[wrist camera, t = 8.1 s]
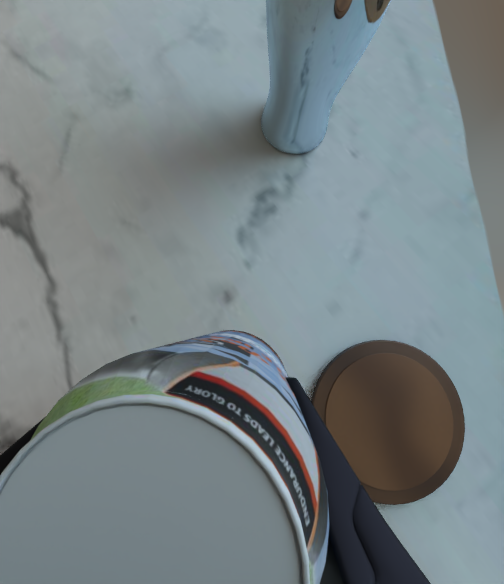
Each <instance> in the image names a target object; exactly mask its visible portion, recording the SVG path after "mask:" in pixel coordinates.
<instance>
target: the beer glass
mask: <svg viewBox="0 0 504 584" xmlns="http://www.w3.org/2000/svg"><path fill="white" fill-rule="evenodd" d="M390 3H391V0H266V27H267V43H268V56H269V71H270V88H269V94H268V98H267V101H266V104H265V106H264V109H263V112H262V117H261V127H262V131H263V134H264V136H265V138H266V139H267V141H268V142H269V143H270V144H271V145H272V146H274V147H275V148H276V149H278V150H280V151H282V152H285V153H290V154H301V153H306V152H309V151H311V150H313V149H314V148H316V147H317V146H318V145H319V144H320V143H321V141H322V140H323V138H324V137H325V134H326V131H327V126H328V120H329V115H330V110H331V107H332V105H333V102H334V100H335V98H336V96H337V94H338V93H339V91H340V90H341V88H342V86H343V85H344V83H345V82H346V80H347V79H348V77H349V75H350V74H351V72H352V71H353V69H354V68H355V66H356V64H357V63H358V61H359V60H360V58H361V57H362V55H363V53H364V52H365V50H366V48H367V47H368V45H369V43H370V41H371V40H372V38H373V36H374V34H375V33H376V31H377V29H378V27H379V25H380V23H381V21H382V19H383V17H384V15H385V13H386V11H387V9H388V7H389V5H390Z"/></svg>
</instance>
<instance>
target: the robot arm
mask: <svg viewBox="0 0 504 584" xmlns="http://www.w3.org/2000/svg"><path fill="white" fill-rule="evenodd" d="M285 378H286V380H287V382H288V384H289V386H290V388H291V390H292V391H293V393H294V395H295V397H296V400H297V403H298V405H299V408H300V410H301V413H302V415H303V418H304V420H305V423H306V425H307V428H308V430H309V433H310V436H311V438H312V441H313V444H314V446H315V449H316V451H317V454H318V457H319V459H320V462H321V467H322V471H323V475H324V480H325V484H326V489H327V493H328V510H329V536H328V545H327V554H326V563H325V566H324V570H323V574H322V577H321V581H320V584H431V583H430V582H429V581H428V579H427V578H426V577H425V575H424V574H423V572H422V571H421V570H420V568H419V567H418V566H417V564H416V563H415V562H414V560H413V559H412V558H411V556H410V555H409V553H408V552H407V551H406V549H405V548H404V547H403V545H402V544H401V542H400V541H399V540H398V538H397V537H396V535H395V534H394V533H393V531H392V530H391V528H390V527H389V526H388V524H387V523H386V521H385V520H384V518H383V517H382V515H381V514H380V512H379V511H378V509H377V507H376V506H375V504H374V503H373V501H372V500H371V498H370V496H369V495H368V493H367V492H366V490H365V488H364V487H363V485H360V484H361V482H360V480H359V479H358V477H357V476H356V474H355V472H354V471H353V469H352V467H351V466H350V464H349V463H348V461H347V459H346V458H345V456H344V454H343V453H342V451H341V450H340V448H339V446H338V445H337V443H336V441H335V440H334V438H333V437H332V435H331V433H330V432H329V430H328V428H327V427H326V425H325V424H324V422H323V420H322V419H321V417H320V416H319V414H318V412H317V411H316V409H315V407H314V406H313V404H312V403H311V401H310V399H309V398H308V396H307V394H306V393H305V391H304V390H303V388H302V386H301V385H300V383H299V381H298V380H297V379H296V378H292V377H285ZM43 420H44V419H42V420H41V421H40V422H39V423H38V424H37V425H35V426H34V427H33V428H32V429H31V430H30V431H28V432H27V433H26V434H25V435H24V436H22V437H21V438H20V439H19V440H18V441H17V442H15V443H14V444H13V445H12V446H11V447H10V448H8V449H7V450H6V451H5V452H4V453H3V454H1V455H0V475H1V473H2V472H3V471H4V469H5V468H6V467H7V466H8V464H9V463H10V462H11V461H12V459H13V458H14V457H15V456H16V454H17V453H18V452H19V451H20V449H21V448H23V447H24V446H25V445H26V444H27V443H28V442H29V441H30V440H31V438H32V436H33V435H34V433H35V431H36V429H37V428H38V426H39V425H40V423H41V422H42V421H43Z"/></svg>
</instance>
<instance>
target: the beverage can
mask: <svg viewBox="0 0 504 584" xmlns="http://www.w3.org/2000/svg"><path fill="white" fill-rule="evenodd" d="M285 377H288V375H287V373H286V370H285V368H284V365H283V363H282V361H281V360H280V358H279V356H278V355H277V353H276V352H275V351H274V350H273V349H272V348H271V347H270V346H269V345H268V344H267V343H266V342H264V341H263V340H262V339H260V338H258V337H256V336H254V335H252V334H249V333H246V332H242V331H235V330H230V331H220V332H216V333H211V334H208V335H204V336H200V337H196V338H192V339H188V340H184V341H180V342H176V343H172V344H168V345H164V346H160V347H157V348H153V349H149V350H145V351H141V352H137V353H133V354H130V355H128V356H125V357H123V358H120V359H118V360H115V361H113V362H111V363H108V364H106V365H104V366H103V367H101V368H100V369H98V370H96V371H95V372H93V373H92V374H90V375H88V376H87V377H85V378H84V379H82V380H81V381H80V382H79V383H78V384H76V385H75V386H74V387H73V388H72V389H71V390H70V391H69V392H68V393H66V394H65V395H64V396H63V397H62V398H61V399H60V400H59V401H58V402H57V403H56V405H55V406H54V407H53V408H52V410H51V411H50V412H49V413H48V415H47V416H46V417H45V418H44V420H43V421H42V422H41V423H40V425H39V426H38V428H37V429H36V431H35V433H34V435H33V436H32V438H31V440H30V441H29V442H28V443H27V444H26V445H25V446H24V447H23V448H21V449H20V451H19V452H18V453H17V454H16V456H15V457H14V458H13V459H12V461H11V462H10V463H9V464H8V466H7V467H6V468H5V469H4V471H3V472H2V473H1V475H0V584H320V581H321V577H322V574H323V570H324V566H325V563H326V554H327V545H328V536H329V510H328V493H327V489H326V484H325V480H324V475H323V471H322V467H321V462H320V459H319V457H318V454H317V451H316V449H315V446H314V444H313V441H312V438H311V436H310V433H309V430H308V428H307V425H306V423H305V420H304V418H303V415H302V413H301V410H300V408H299V405H298V403H297V400H296V397H295V395H294V393H293V391H292V390H291V388H290V386H289V384H288V382H287V380H286V378H285Z"/></svg>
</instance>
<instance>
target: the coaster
mask: <svg viewBox="0 0 504 584" xmlns="http://www.w3.org/2000/svg"><path fill="white" fill-rule="evenodd" d="M312 404H313V406H314V407H315V409H316V411H317V412H318V414H319V416H320V417H321V419H322V420H323V422H324V424H325V425H326V427H327V428H328V430H329V432H330V433H331V435H332V437H333V438H334V440H335V441H336V443H337V445H338V446H339V448H340V450H341V451H342V453H343V454H344V456H345V458H346V459H347V461H348V463H349V464H350V466H351V467H352V469H353V471H354V472H355V474H356V476H357V477H358V479H359V480H360V482H361V484H360V485H363V487H364V488H365V490H366V492H367V493H368V495H369V496H370V498H371V500H372V501H373V502H377V503H382V504H392V505H396V504H405V503H410V502H414V501H417V500H419V499H422V498H424V497H426V496H427V495H429V494H431V493H432V492H434V491H435V490H436V489H437V488H439V487H440V486H441V485H442V484H443V483H444V482H445V481H446V480H447V478H448V477H449V476H450V474H451V473H452V471H453V470H454V468H455V466H456V464H457V462H458V460H459V457H460V454H461V451H462V447H463V442H464V433H465V423H464V414H463V408H462V404H461V401H460V398H459V395H458V393H457V390H456V388H455V386H454V384H453V383H452V381H451V379H450V378H449V376H448V375H447V373H446V372H445V371H444V370H443V368H442V367H441V366H440V365H439V364H438V363H437V362H436V361H435V360H433V359H432V358H431V357H430V356H429V355H427V354H426V353H424V352H423V351H421V350H419V349H417V348H415V347H413V346H410V345H408V344H405V343H401V342H397V341H389V340H373V341H367V342H362V343H360V344H357V345H354V346H352V347H350V348H348V349H346V350H344V351H343V352H342V353H340V354H339V355H337V356H336V357H335V358H334V359H333V360H332V361H331V362H330V363H329V365H328V366H327V367H326V368H325V370H324V371H323V373H322V374H321V376H320V378H319V380H318V382H317V384H316V387H315V390H314V393H313V397H312Z"/></svg>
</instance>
